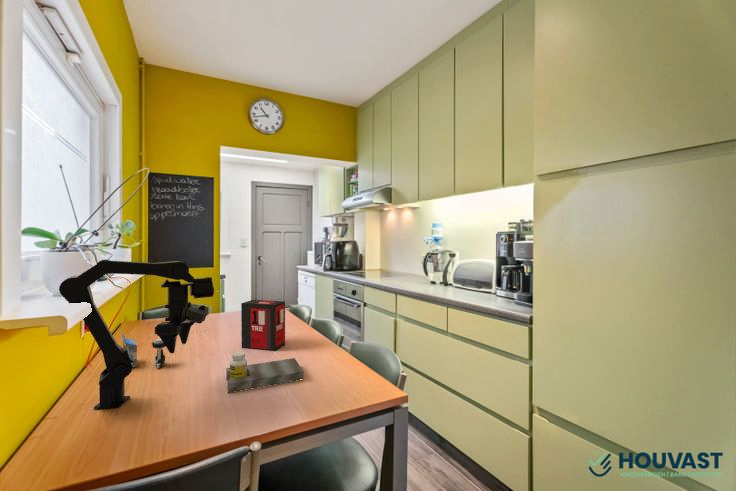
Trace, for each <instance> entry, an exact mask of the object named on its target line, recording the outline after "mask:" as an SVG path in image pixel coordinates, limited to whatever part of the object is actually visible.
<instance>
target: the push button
mask: <svg viewBox="0 0 736 491" xmlns="http://www.w3.org/2000/svg"><path fill="white" fill-rule="evenodd" d="M151 345H152V348H153V349H155V350H157V351H156V352H157V353H156V356H155V363H154V365H155V368H156V369H160V368H162V367H164V366H166V355H165V354H164V348H166V346H165V344H164V343H163V341H162V340H161V338H160V337H159V338H156V339H154V341H152V342H151ZM163 365H164V366H163Z"/></svg>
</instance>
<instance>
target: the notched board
mask: <svg viewBox="0 0 736 491" xmlns="http://www.w3.org/2000/svg"><path fill="white" fill-rule="evenodd" d="M302 368H303V367H301V365H300V364H299V362H298V361H297V360H296V358H295V357H292V358H288V359H287V358H286V359H279V360H273V361H266V362H265V361H264V362H259V363H254V364H253V363H252V364H247V377H240V378H234V379H230V367H226V369H225V370H226V374H225V377H226V381H227V386H226V387H227V394H230V393H229V392H233V393H235V392H234V391H238V392H241V391H240V390H244V391H246V390H245V389H250V390H252V389H251V388H255V389H258V388H257V387H261V388H264V387H263V386H267V387H269V386H268V385H272V386H275V385H274V384H278V385H281V384H280V383H284V384H286V383H285V382H289V383H291V382H290V381H295V382H297V381H296V380H300V379H304V378H305V377H304V376H305V374H304V372H305V371H304V370H303V369H302Z"/></svg>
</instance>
